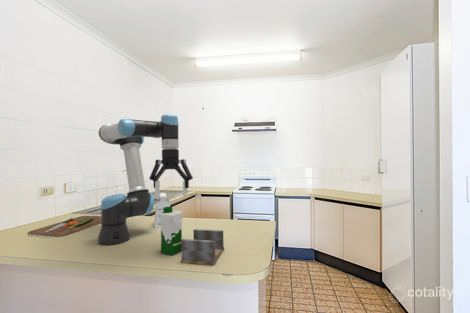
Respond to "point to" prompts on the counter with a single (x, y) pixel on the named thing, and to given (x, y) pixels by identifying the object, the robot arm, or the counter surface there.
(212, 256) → the carton caddy
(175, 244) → the soya milk
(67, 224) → the chopping board
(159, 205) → the grater
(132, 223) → the counter surface
